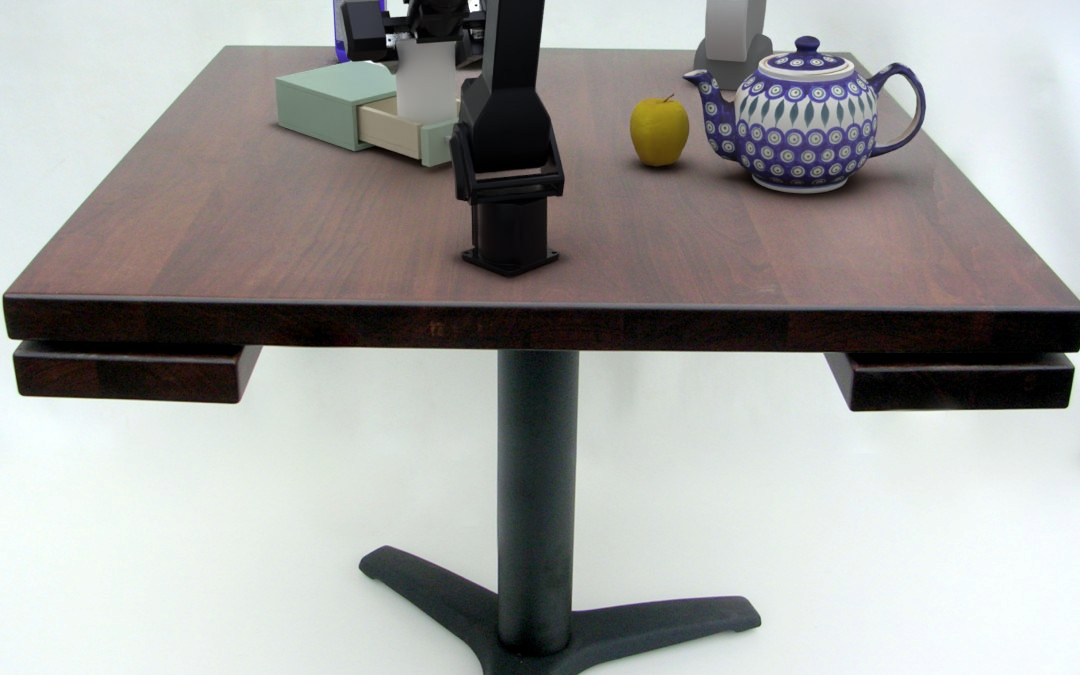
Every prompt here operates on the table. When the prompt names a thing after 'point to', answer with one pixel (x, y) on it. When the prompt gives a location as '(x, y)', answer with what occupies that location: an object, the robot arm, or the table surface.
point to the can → (426, 81)
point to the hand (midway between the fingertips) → (423, 68)
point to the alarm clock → (733, 41)
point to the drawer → (404, 132)
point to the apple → (659, 130)
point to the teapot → (802, 118)
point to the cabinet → (332, 100)
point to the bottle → (338, 32)
